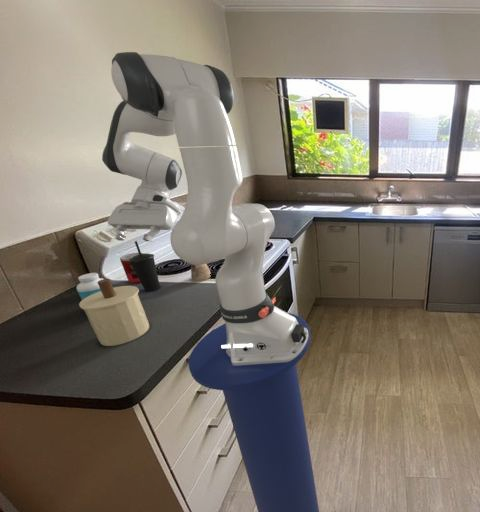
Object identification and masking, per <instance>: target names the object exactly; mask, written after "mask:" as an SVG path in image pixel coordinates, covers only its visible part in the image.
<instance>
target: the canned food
mask: <svg viewBox="0 0 480 512" xmlns="http://www.w3.org/2000/svg"><path fill="white" fill-rule="evenodd" d="M142 253H143V252H141V254H142ZM137 254H139V253H138V252H132V253H127V254H124V255H122V256H120V257H119V260H120V263H121V265H122V268H123V272H124V273H125V276H126V278H127V281H128V283H130V284H132V285H133V284H141V282H140V280H139V278H138V276H137V274H136V272H135V270H134V268H133V266H132V264H131V262H129V259H130V258H131V257H133V256H135V255H137Z"/></svg>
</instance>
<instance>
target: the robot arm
mask: <svg viewBox="0 0 480 512" xmlns="http://www.w3.org/2000/svg"><path fill="white" fill-rule="evenodd" d="M110 71H111V79H112V82H113V85H114V87H115V90H116V91H117V93H118V94H119V95H120V97H121V99H122V101H120V103H119V104H118V105H117V106H116V108H115V110H114V112H113V115H112V117H111V122H110V126H109V130H108V136H107V140H106V144H105V146H104V148H103V150H102V156H101V157H102V158H101V160H102V162H103V164H104V165H105V166H106V167H107V169H108V170H109V171H110V172H113V173H115V174H121V175H125V176H128V177H131V178H135V179H137V180H141V183H140V185H138V186H137V188H136V190H135V192H134V194H133V196H132V198H131V201H124V202H123V203H121V204H119V205H117V206H115V208H114V209H113V211H112V212H111V214H110V215H109V217H108V218H107V225H109V226H110V227H112V228H115V232H116V234H115V237H114V239H115V240H116V241H119V242H120V241H122V242H123V241H125V240H126V237H127V235H125V232H126V231H127V230H149V231H148V232H147V233H145V234H143V237H142V240H143V241H144V242H152V241H153V239H154V237H156V236H157V235H158V234H159V233H160V231H170V230H171V231H170V238H169V239H170V245H171V248H172V250H173V252H174V253H175V255H176V257H178V258H179V259H181V260H182V261H183V262H184V263H186V264H188V265H189V264H191V265H201V264H211V263H216V262H219V261H221V260H223V259H224V261H223V263H222V265H221V267H220V268H219V270H218V271H217V273H216V275H215V279H214V280H215V286H216V290H217V295H218V299H219V302H220V304H219V309H220V314H221V318H222V320H223V321H224V324H225V325H226V334H227V343H226V345H222V346H221V347H222V348H226V353H227V354H228V356H229V357H230V358H231V363H232V365H233V366H240V365H255V364H269V363H283V362H290V361H291V360H293V359H294V358H296V357H297V356H298V355H299V354H300V352H301V351H302V350H303V348H304V347H305V345H306V343H307V340H308V337H309V334H308V330H307V328H304V326H303V324H298V322H297V320H296V318H295V317H294V316H292V315H290V314H288V313H289V312H286V311H285V310H283V309H281V308H279V307H277V306H276V305H275V303H276V301H277V297H276V296H274V297H273V298H272V299H271V297H270V296H269V295H268V293H267V292H266V288H265V280H264V273H263V266H264V265H263V264H264V257H265V253H266V252H265V251H266V248H267V245H268V242H269V239H270V237H271V236H272V234H273V233H274V231H275V228H276V221H275V217H274V215H273V214H272V212H271V211H270V209H269V208H268V207H266V206H265V205H264V204H262V203H261V204H260V203H240V204H236V205H233V199H234V196H235V194H236V192H237V191H238V190H239V189H240V187H242V184H243V180H244V176H243V170H242V166H241V161H240V155H239V150H238V147H237V141H236V137H235V134H234V129H233V128H232V123H231V120H230V117H229V115H228V114H229V113H230V112H231V111H232V109H233V107H234V103H235V94H234V89H233V85H232V81H230V79H229V77H228V76H227V75H226V73H225V72H224V71H223V70H221V69H220V68H217V67H215V66H212V65H209V64H200V63H197V62H193V61H189V60H184V59H179V58H176V57H174V56H169V55H168V56H166V55H159V54H144V53H143V54H139V53H138V52H136V51H124V52H117V53H116V54H115V55H114V56H113V58H112V59H111V69H110ZM132 133H137V134H144V135H150V136H154V137H171V136H173V135H175V137H176V141H177V145H178V149H179V152H180V157H181V161H182V164H183V168H184V169H183V170H184V173H185V178H186V183H187V196H186V202H185V206H184V210H183V212H182V215H181V216H180V218H179V219H178V215H179V214H178V213H179V212H180V211H181V207H180V206H179V205H178V204H177V203H175V202H174V201H173V200H171V199H170V198H171V197H170V196H171V194H172V193H173V191H174V190H175V189H176V188H177V187H178V185H179V182H180V180H181V178H182V174H183V171H182V168H181V167H180V165H179V163H178V162H177V160H175V159H173V158H172V157H169V156H167V155H164V154H161V153H160V152H156V151H153V150H151V149H148V148H145V147H142V146H140V145H137V144H136V143H133V142H132V141H130V139H131V136H132ZM177 219H178V221H177ZM176 222H177V223H176Z"/></svg>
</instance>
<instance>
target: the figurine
mask: <svg viewBox="0 0 480 512" xmlns="http://www.w3.org/2000/svg"><path fill="white" fill-rule="evenodd" d="M188 265H189V266H190V273H191V274H190V276H191V280H192V281H193V282H197V283H199V282H203V281H206V280H208V279H210V278H211V276H212V273H211V270H210V268H209V266H208V263H206V264H201V265H191V264H189V263H188ZM210 274H211V275H210Z"/></svg>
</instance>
